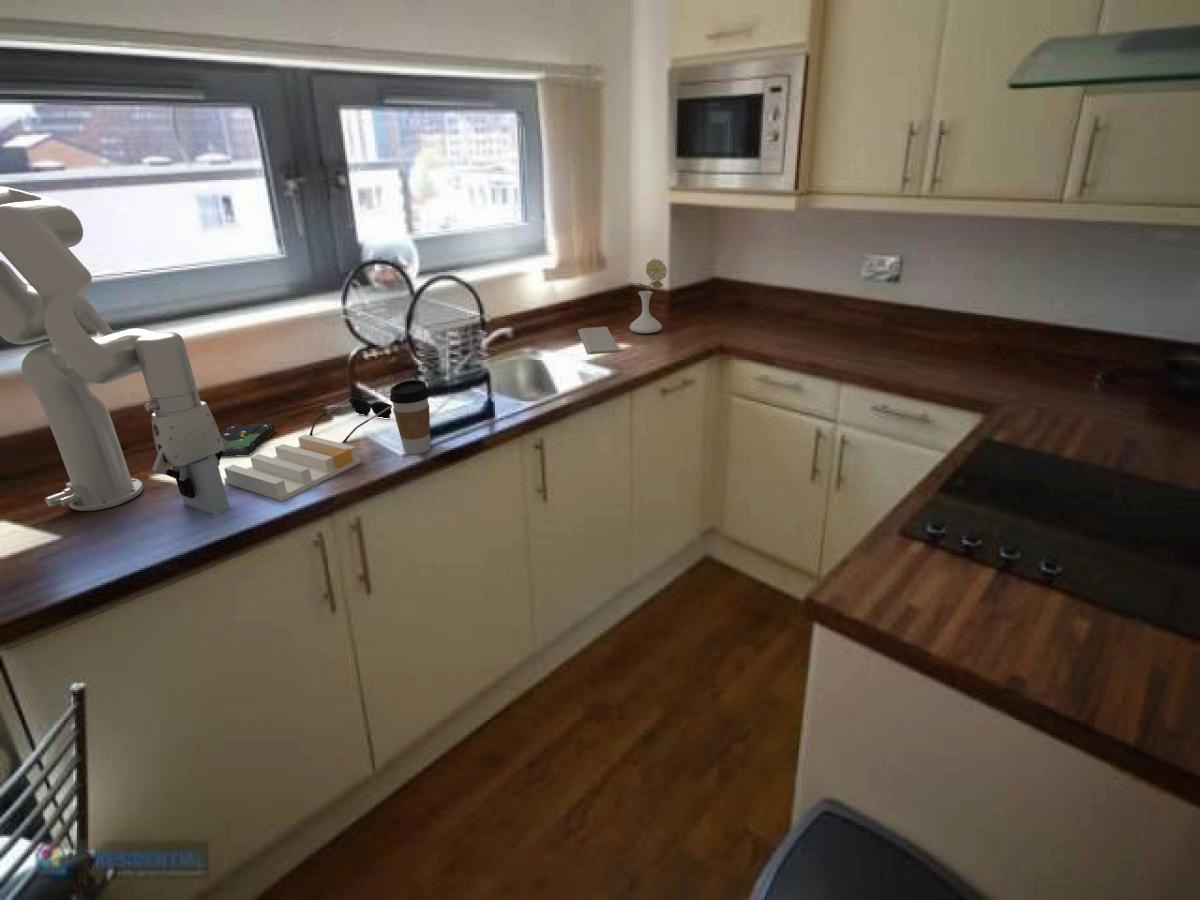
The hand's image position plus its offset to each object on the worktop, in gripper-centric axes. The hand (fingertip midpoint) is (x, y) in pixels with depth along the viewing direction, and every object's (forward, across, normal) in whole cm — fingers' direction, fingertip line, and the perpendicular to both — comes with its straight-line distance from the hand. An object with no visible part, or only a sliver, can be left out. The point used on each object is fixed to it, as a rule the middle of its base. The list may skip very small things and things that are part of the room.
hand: (202, 489), depth 135 cm
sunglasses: (+4, +41, +6) cm, 42 cm away
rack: (+3, +18, -3) cm, 19 cm away
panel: (+3, 0, 0) cm, 3 cm away
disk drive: (+4, +23, +22) cm, 32 cm away
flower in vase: (+4, +153, -19) cm, 154 cm away
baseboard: (+4, +135, -8) cm, 135 cm away
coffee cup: (+4, +39, -18) cm, 43 cm away
